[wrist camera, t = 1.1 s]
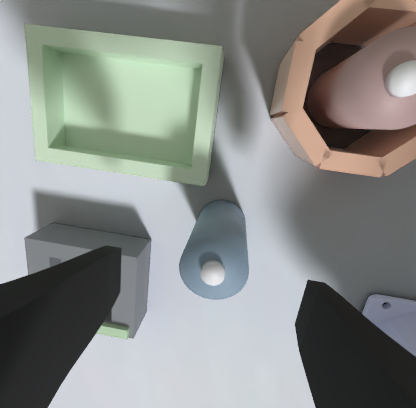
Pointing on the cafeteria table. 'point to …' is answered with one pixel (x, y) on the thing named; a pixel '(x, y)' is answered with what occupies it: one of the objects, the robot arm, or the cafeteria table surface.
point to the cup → (299, 78)
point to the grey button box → (87, 241)
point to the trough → (124, 102)
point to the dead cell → (370, 86)
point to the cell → (216, 252)
